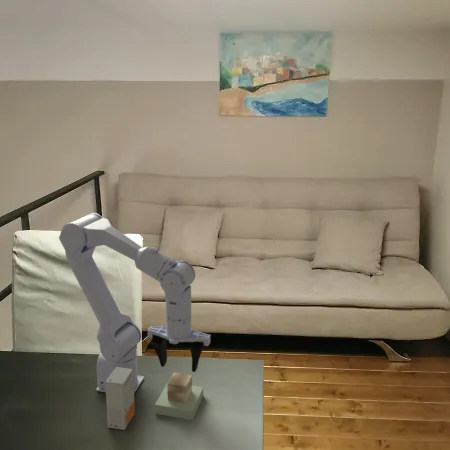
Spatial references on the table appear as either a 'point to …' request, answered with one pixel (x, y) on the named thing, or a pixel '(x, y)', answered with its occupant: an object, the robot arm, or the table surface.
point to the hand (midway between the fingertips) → (179, 366)
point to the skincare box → (120, 398)
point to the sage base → (179, 404)
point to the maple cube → (179, 387)
